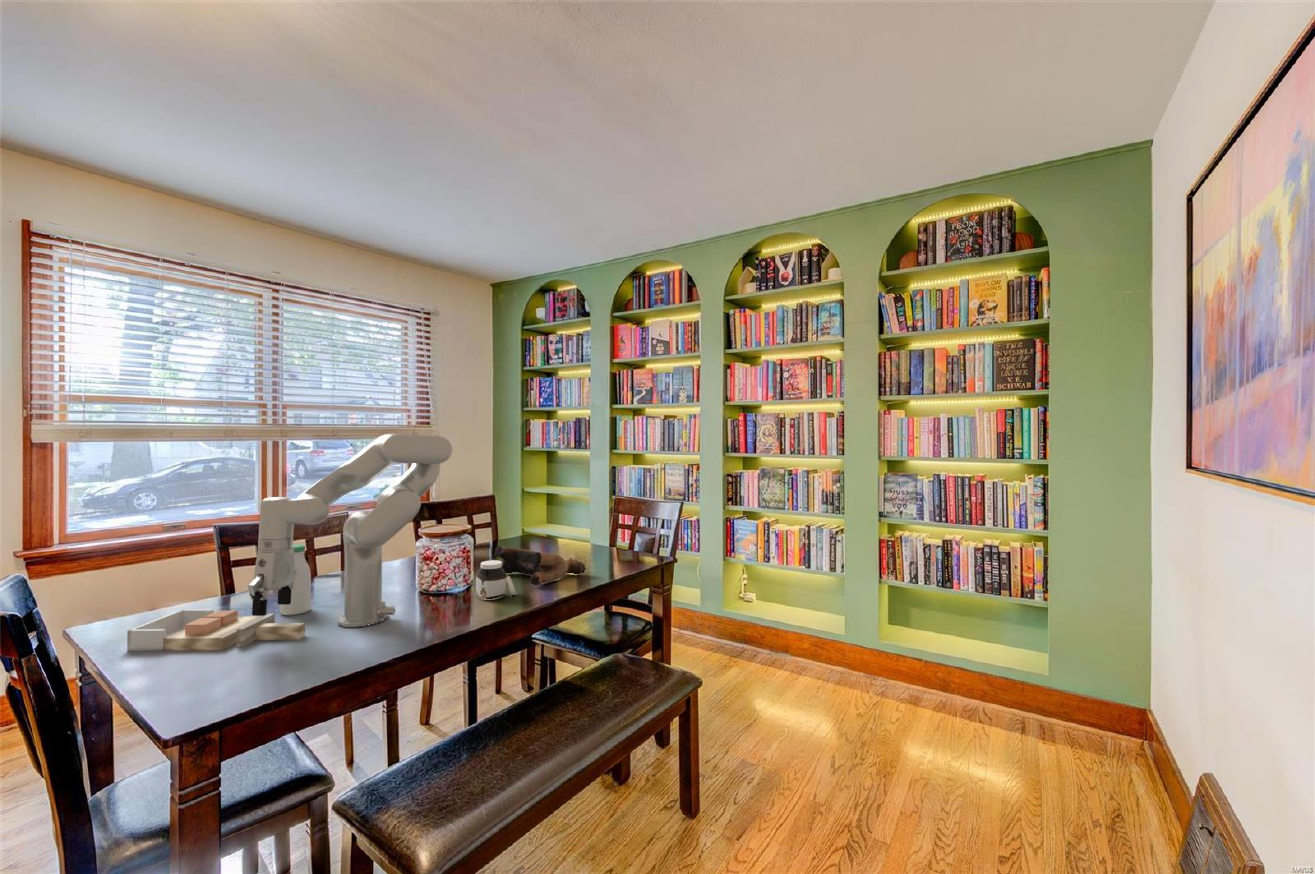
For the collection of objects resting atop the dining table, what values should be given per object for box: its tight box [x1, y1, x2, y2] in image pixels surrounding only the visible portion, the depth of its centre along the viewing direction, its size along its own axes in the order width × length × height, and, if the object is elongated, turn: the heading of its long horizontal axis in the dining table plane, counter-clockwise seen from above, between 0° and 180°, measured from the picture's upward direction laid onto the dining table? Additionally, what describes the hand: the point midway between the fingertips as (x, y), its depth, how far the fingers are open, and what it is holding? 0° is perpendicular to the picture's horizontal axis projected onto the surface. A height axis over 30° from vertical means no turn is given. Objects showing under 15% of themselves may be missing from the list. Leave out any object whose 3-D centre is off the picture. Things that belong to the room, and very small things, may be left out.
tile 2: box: [204, 609, 239, 626], centre depth 145 cm, size 5×5×2 cm
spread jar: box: [475, 559, 517, 599], centre depth 179 cm, size 12×11×12 cm
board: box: [163, 615, 263, 652], centre depth 142 cm, size 14×16×3 cm
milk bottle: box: [279, 544, 312, 616], centre depth 163 cm, size 8×8×20 cm
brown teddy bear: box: [494, 545, 587, 586], centre depth 206 cm, size 13×31×25 cm
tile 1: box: [185, 618, 221, 635], centre depth 139 cm, size 5×5×2 cm
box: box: [126, 609, 215, 652], centre depth 141 cm, size 8×16×5 cm, turn 2°
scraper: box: [236, 613, 306, 648], centre depth 142 cm, size 12×12×4 cm
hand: (272, 609), depth 142 cm, fingers open, 9 cm apart
